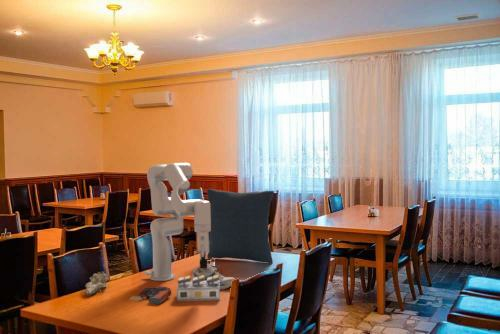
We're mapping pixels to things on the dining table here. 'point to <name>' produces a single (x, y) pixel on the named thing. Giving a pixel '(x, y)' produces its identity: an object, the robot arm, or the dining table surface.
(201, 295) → the switch unit
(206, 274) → the athletic shoe
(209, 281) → the switch
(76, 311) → the dining table surface
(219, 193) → the pillow
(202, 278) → the switch
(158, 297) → the toy gun
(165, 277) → the robot arm
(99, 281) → the skull
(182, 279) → the switch
